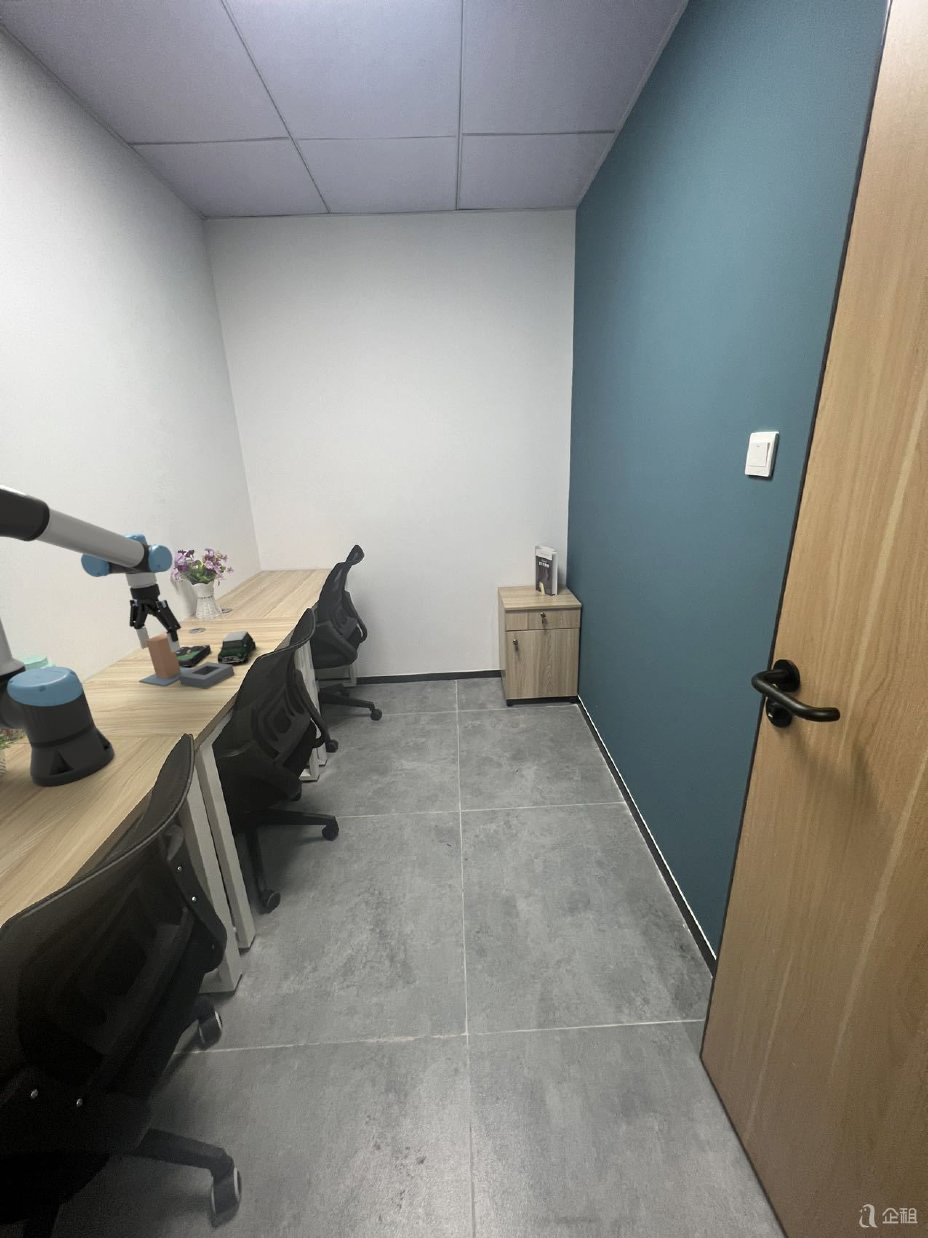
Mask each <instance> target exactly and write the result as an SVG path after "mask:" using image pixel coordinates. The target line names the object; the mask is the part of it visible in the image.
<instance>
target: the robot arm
mask: <svg viewBox="0 0 928 1238" xmlns="http://www.w3.org/2000/svg"><path fill="white" fill-rule="evenodd" d="M0 537H1V538H10V539H15V540H18V541H23V542H28V543H29V542H34V541H38V542H41V543H46V544H49V545H52V546H54V547H55V546H56V547H59V548H62V549H66V550H69V551H73V552H77V553H79V554H81V557H80V563H81V565H82V566H81V567H82V569H83V570H84V572H85V573H86V574H88V575H89V576H91V577H94V578H95V577H96V578H100V577H107V576H109V575H115V574H125V578H126V582H127V585H128V586H129V587H130V588H129V591H130V595H131V598H132V599H129V605H130V609H129V610H130V611H129V613H130V614H129V622H128V623H129V627H130V628H134V630H136V634H137V637H138V640H139V644H140V648H141V649H143V650H144V649H146V648H147V649H148V646H147V642H146V640H148V639H150V637H149V632H148V629H147V627H146V624H145V623H146V620H147V617H148V616H149V615H150V616H152V617H154V618H156V619H157V620H158V622H159V623H160V624H161V625H162V626H163V628H164V629H165V630H166V633H165V635H167V638H168V641H169V645H170V649H171V652H176V651H178V650H181V649H180V648H181V645H180V642H179V641H180V639H179V635H178V632H177V631H178V630H181V629H182V626H181V624H180V623H179V621H178V619H177V618H176V616H175V614H174V613H173V611H172V610H171V608H170V606H169V604H168V601H167V599H163V600H160V599H159V596H160V595H161V590H160V587H159V584H158V583H157V581H158V580H157V575H156V574H158V573H164V572H168V571H169V570H170V569H171V567H172V565H173V554H172V552H171V550H170V548H168V547H167V546H166V545H161V544H148V542H147V540H146V537H145V535H144V534H142V533H130V534H129V533H127V534H120V533H117V532H114V531H111V530H109V529H106V528H103V527H102V526H101V527H100V526H98V525H95V524H93V523H91V522H87V521H85V520H82V519H80V518H77V517H74V516H72V515H69V514H66V513H64V512H62V511H59V510H56V509H54V508H50V506H49V505H48V503H47V502H46V501H45V500H42V499H40V498H37V497H35V496H32V495H30V494H27V493H24V492H22V491H19V490H17V489H14V488H11V487H10V486H9V487H7V486H5V485H2V484H0ZM8 641H9V640H8V637H7V635H6V632H5V629H4V625H3V622H2V618H1V617H0V729H2V730H5V729H7V730H24V733H25V735H26V738H27V740H28V742H29V745H30V748H31V751H30V752H31V753H30V767H29V773H30V776H31V779H32V782H33V783H34V785H36V786H40V787H53V786H60V785H65V784H68V783H73V782H75V781H77V780H82V779H83V778H85V777H87V776H89V775H92V774H94V773H95V772H98V771H99V770H100V769H102V768H104V767H105V766H106V765H107V764H108V763H110V762H111V760H112V759H113V758H114V756H115V750H114V748H113V745H112V743H111V742H110V740H109V739H108V738H107V737H106V736H105V734H103V733H102V731H100V729H99V728H98V727H97V726H96V724H95V721H94V718H93V715H92V712H91V709H90V705H89V703H88V700H87V697H86V694H85V691H84V687H83V684H82V682H81V681H80V679H79V677H78V675H77V673H76V671H74V670H73V669H70V668H68V667H63V666H46V667H42V668H41V667H38V668H37V667H36V668H33V669H28V670H27V669H26V666H25V663H24V662H23V661H22V660H18V658H15V657H13V654H12V650H11V648H10V645H9V642H8Z"/></svg>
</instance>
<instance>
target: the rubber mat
mask: <svg viewBox="0 0 928 1238" xmlns="http://www.w3.org/2000/svg"><path fill="white" fill-rule="evenodd" d="M191 669H192V668H190V667H185V666H180V670H181V673H179V674H177V675H175V676H173V677H171V678H169V679H164V678H157V677H156V673H155V672H154V674H152V675H149V676H147V677H144V678H142V679H140V680H138V681H139V683H140V684H141V683H142V684H148V685H152V686H153V685H154V686H160V687H165V688H166V687H168V686H170V685H172V684H175V682H176V683H177V682H178V681H180V680H179V677H178V676H179V675H181V674H183V673H185V672H187V671H189V670H191Z"/></svg>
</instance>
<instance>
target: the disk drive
mask: <svg viewBox="0 0 928 1238" xmlns="http://www.w3.org/2000/svg"><path fill="white" fill-rule="evenodd" d="M180 649H181V650H178V651H176V655H177V659H178V663H179V666H180V667H189V666H190V667H191V666H193V665H194V664H195V663H197V662H198V661H200V660H201V659H203V658H204V657H205V656H207V655H208V654H209V653H211V651H212V648H211V645H210V644H204V645H194V646H189V645H187V646H180Z"/></svg>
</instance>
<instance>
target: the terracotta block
mask: <svg viewBox="0 0 928 1238" xmlns="http://www.w3.org/2000/svg"><path fill="white" fill-rule="evenodd" d="M146 642H147V646H148V647H147V649H148V652H149V655H150V659H151V663H152V666H153V670H154V674H155V673H156V677H157V678H164V679H169V678H171V677H173V676H175V675H177V674H179V673H181V670H180V667H181V666H179V663H178V659H177V655H176V652H171V649H170V645H169V641H168V638H167V634H159V635H156V636H153V637H151V638H150V637H149V639H148V640H146Z"/></svg>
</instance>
